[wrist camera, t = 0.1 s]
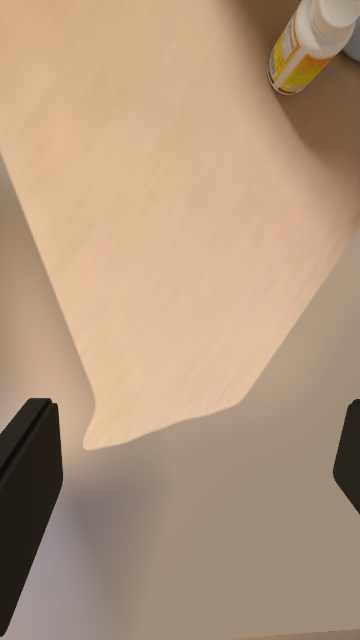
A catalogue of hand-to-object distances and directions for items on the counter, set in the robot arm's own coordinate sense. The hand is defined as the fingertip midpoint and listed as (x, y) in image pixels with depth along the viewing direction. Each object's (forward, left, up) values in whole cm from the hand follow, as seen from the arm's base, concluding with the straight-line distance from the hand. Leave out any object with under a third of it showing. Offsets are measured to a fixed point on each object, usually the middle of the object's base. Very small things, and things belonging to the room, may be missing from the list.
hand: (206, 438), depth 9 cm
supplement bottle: (-26, +13, -31) cm, 43 cm away
